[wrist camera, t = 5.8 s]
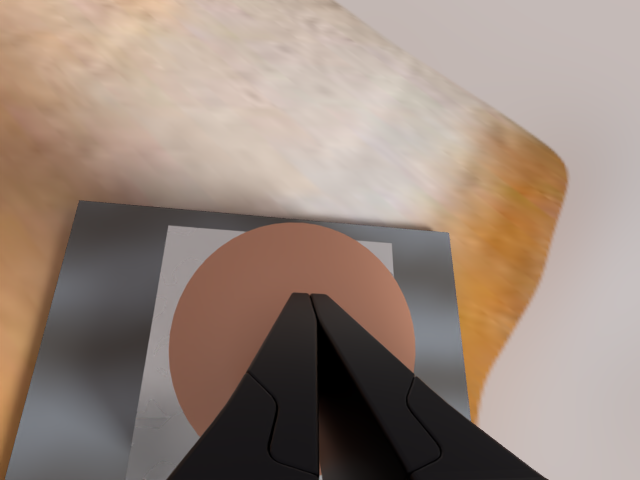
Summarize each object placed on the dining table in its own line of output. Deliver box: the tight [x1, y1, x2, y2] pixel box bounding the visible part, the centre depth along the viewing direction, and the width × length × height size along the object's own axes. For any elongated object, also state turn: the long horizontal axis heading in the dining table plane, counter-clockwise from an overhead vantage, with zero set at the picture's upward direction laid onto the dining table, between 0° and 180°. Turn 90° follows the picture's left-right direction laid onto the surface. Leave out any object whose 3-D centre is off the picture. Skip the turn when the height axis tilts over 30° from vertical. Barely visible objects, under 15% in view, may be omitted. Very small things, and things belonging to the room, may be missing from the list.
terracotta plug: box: [169, 222, 415, 475], centre depth 13 cm, size 6×6×7 cm
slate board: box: [5, 200, 471, 480], centre depth 20 cm, size 16×22×1 cm
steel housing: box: [126, 225, 394, 480], centre depth 17 cm, size 10×10×5 cm
